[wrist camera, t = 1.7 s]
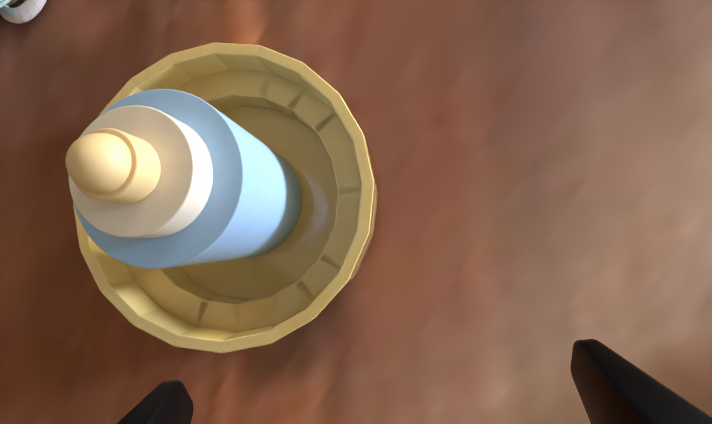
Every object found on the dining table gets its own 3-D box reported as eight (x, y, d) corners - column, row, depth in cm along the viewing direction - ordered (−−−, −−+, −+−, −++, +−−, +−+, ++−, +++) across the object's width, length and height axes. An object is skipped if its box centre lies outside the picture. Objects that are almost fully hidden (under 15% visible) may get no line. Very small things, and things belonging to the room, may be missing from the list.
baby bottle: (273, 276, 23) (130, 319, 10) (175, 229, 24) (-67, 219, 11) (320, 171, 23) (233, 92, 11) (221, 128, 24) (32, 8, 11)
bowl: (312, 374, 23) (292, 407, 18) (92, 265, 25) (26, 271, 20) (418, 134, 23) (423, 110, 19) (194, 43, 25) (150, 1, 20)
